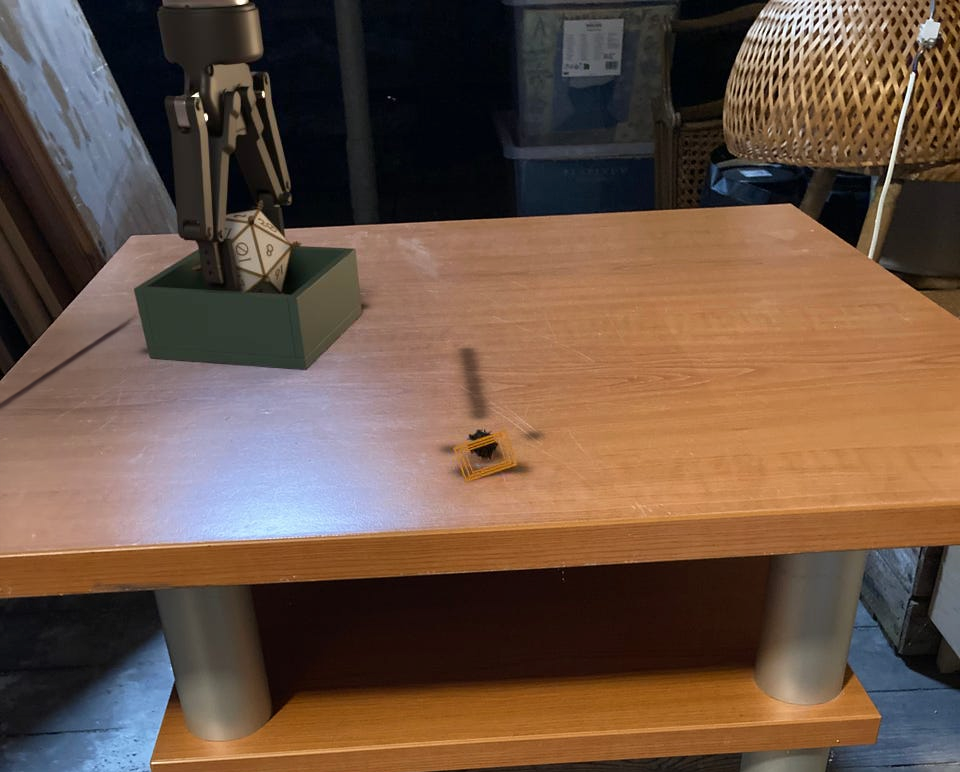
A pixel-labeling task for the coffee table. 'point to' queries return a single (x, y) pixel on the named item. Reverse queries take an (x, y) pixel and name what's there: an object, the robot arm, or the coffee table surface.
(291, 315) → the bin
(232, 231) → the game die
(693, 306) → the coffee table surface
